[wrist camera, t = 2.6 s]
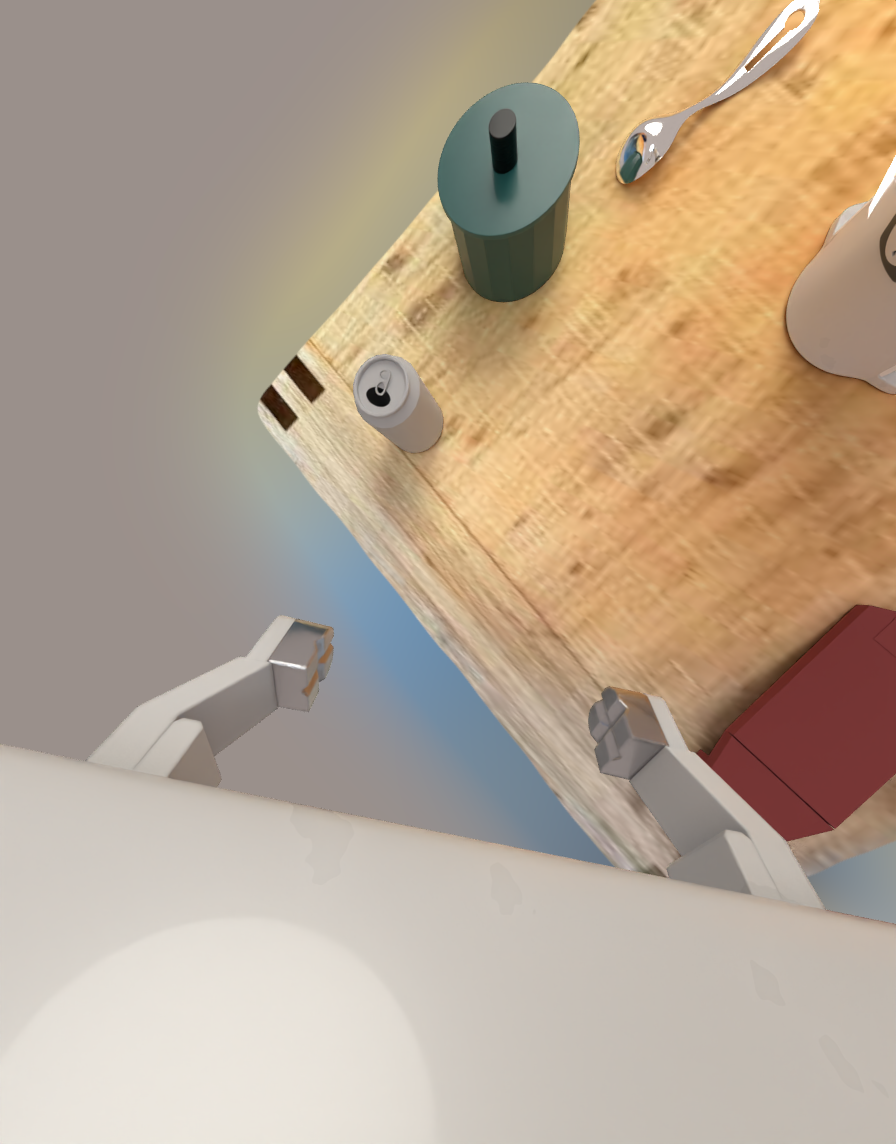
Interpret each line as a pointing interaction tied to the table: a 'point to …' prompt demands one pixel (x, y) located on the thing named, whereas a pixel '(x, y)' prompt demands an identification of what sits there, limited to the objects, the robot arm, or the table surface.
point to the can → (397, 403)
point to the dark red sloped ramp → (819, 730)
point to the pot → (515, 257)
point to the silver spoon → (709, 96)
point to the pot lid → (508, 161)
